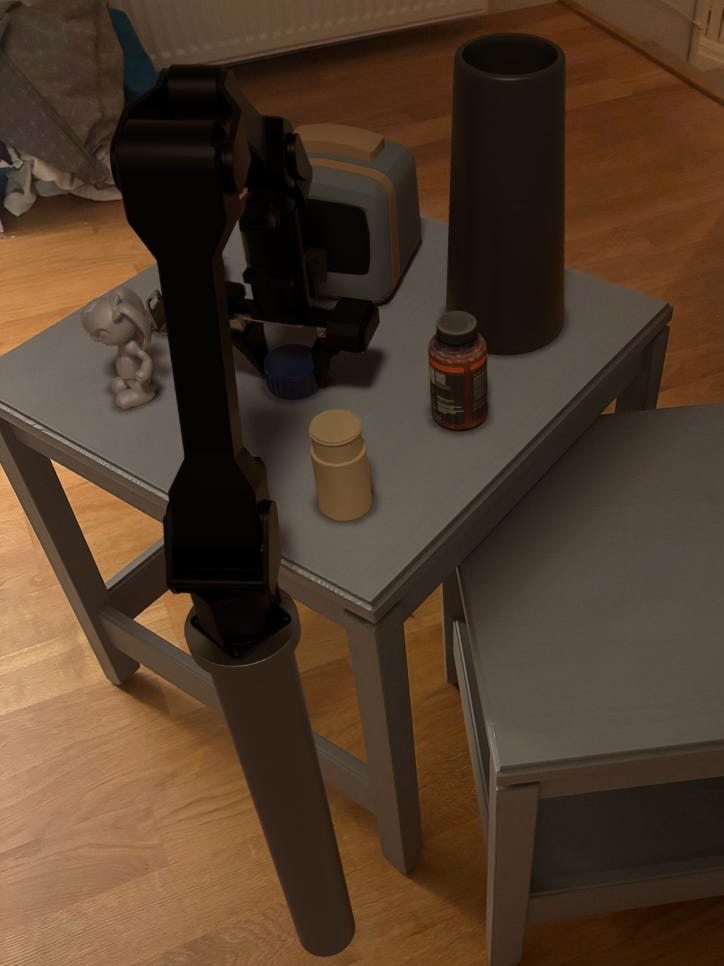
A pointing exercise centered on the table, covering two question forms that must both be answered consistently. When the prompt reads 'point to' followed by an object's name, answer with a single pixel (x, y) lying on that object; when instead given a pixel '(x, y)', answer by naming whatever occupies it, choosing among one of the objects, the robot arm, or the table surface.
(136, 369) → the toy figurine
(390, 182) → the alarm clock
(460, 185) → the vase
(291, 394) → the jar lid
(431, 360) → the supplement bottle
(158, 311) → the strap clip
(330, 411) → the jar
